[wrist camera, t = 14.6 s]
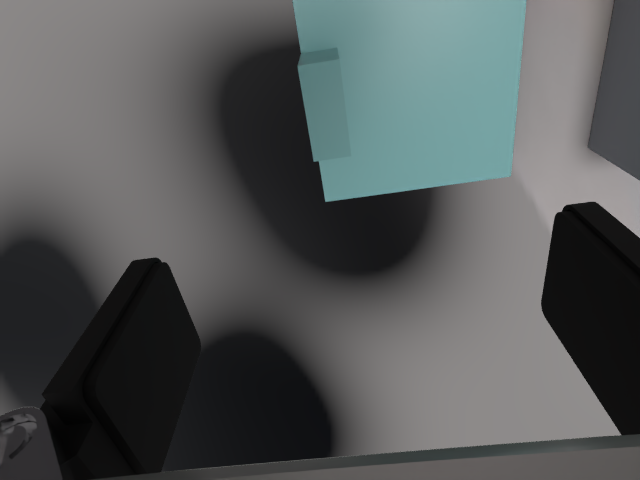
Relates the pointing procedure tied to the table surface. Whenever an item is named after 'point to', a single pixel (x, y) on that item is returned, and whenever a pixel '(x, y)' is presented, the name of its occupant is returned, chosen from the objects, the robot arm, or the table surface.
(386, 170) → the lid
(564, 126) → the table surface
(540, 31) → the table surface
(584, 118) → the table surface
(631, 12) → the tub
